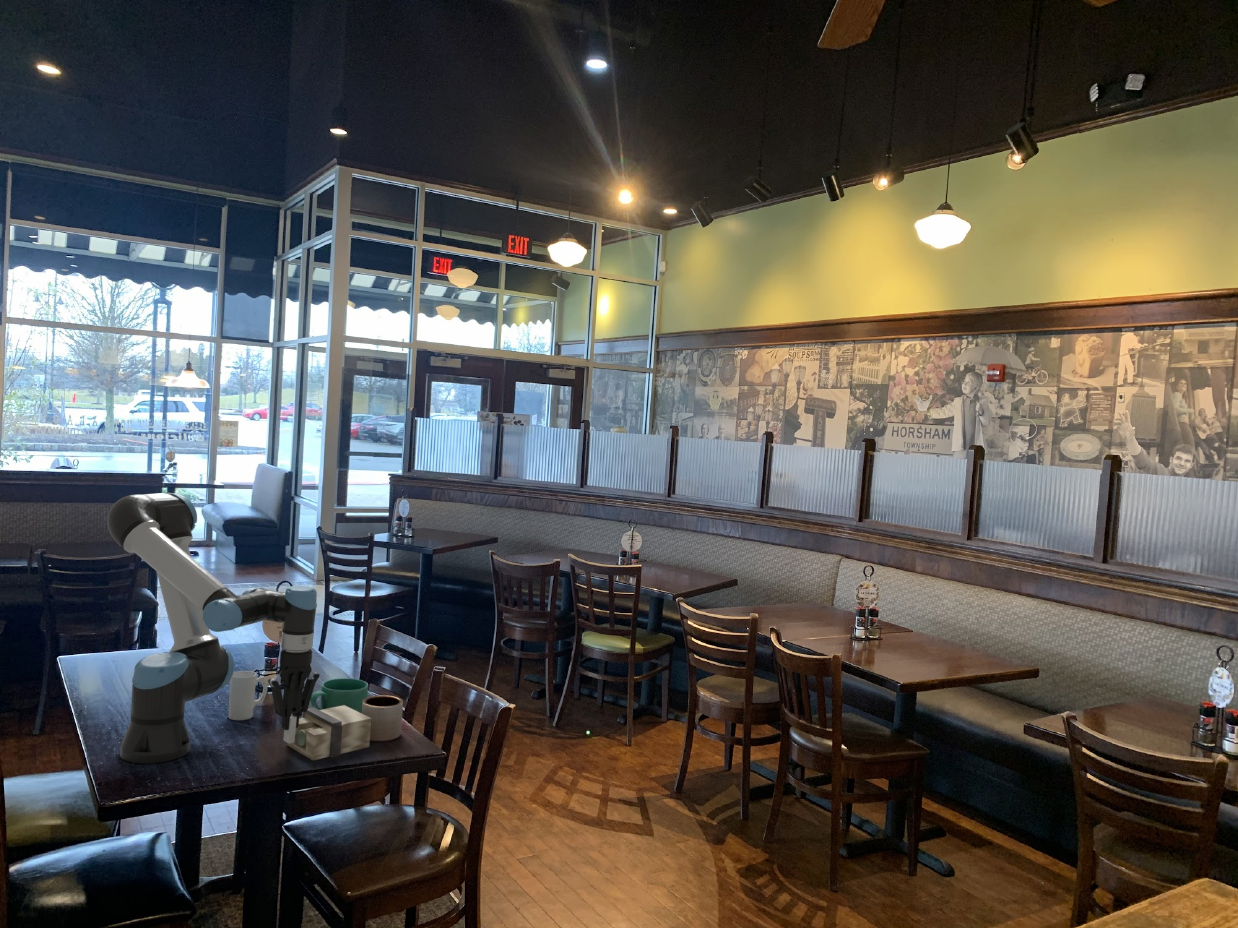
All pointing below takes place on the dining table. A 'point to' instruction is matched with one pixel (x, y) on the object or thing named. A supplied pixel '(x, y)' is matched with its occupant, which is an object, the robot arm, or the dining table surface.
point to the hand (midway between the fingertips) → (288, 741)
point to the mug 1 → (244, 694)
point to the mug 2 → (341, 694)
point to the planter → (383, 716)
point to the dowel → (304, 735)
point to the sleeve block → (332, 732)
